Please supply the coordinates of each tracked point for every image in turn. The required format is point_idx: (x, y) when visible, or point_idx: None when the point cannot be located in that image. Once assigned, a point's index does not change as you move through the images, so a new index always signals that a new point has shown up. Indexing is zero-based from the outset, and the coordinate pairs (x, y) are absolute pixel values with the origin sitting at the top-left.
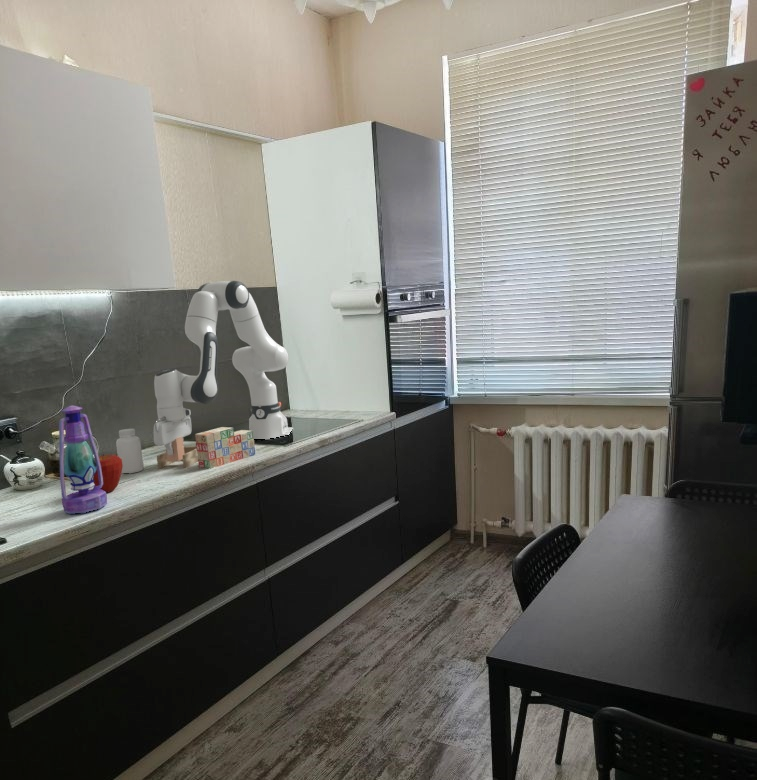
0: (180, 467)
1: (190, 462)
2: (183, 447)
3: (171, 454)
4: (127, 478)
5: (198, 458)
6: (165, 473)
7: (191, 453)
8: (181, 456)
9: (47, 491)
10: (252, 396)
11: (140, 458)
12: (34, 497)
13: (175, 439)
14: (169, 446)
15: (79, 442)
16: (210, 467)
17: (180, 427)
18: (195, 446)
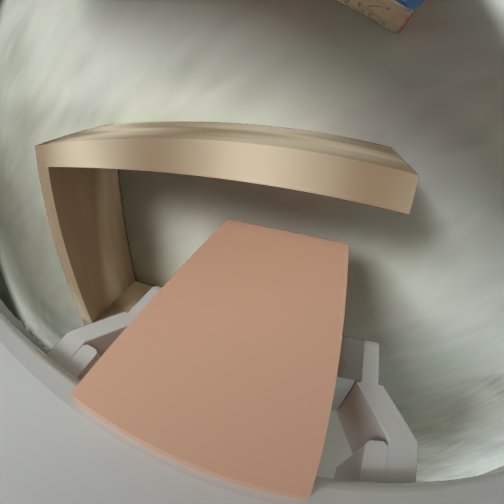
0: (363, 207)
1: (310, 133)
2: (176, 282)
3: (375, 345)
4: (463, 402)
5: (420, 3)
6: (494, 271)
7: (238, 139)
8: (280, 246)
9: (448, 472)
10: None
11: (348, 452)
12: (479, 467)
13: (307, 494)
14: (406, 437)
15: None
16: None
17: (1, 501)
18: (48, 212)
